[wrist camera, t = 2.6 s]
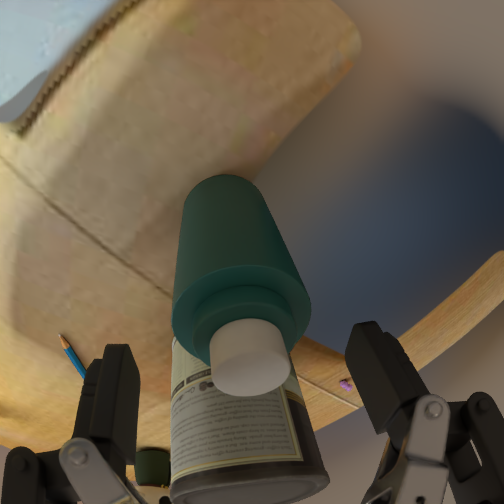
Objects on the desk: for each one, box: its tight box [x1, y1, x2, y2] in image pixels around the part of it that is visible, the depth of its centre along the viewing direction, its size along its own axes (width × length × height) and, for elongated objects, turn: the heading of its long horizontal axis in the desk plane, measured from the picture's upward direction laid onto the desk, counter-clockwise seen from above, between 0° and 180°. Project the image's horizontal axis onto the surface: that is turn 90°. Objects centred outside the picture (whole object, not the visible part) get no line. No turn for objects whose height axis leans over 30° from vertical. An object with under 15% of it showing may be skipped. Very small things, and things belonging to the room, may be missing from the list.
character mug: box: [134, 450, 173, 504], centre depth 33 cm, size 11×7×13 cm, turn 12°
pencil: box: [59, 334, 86, 379], centre depth 28 cm, size 1×17×1 cm, turn 3°
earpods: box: [340, 380, 352, 391], centre depth 32 cm, size 3×2×2 cm
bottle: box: [171, 175, 311, 396], centre depth 15 cm, size 5×5×12 cm
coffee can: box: [170, 336, 330, 504], centre depth 21 cm, size 10×10×14 cm
